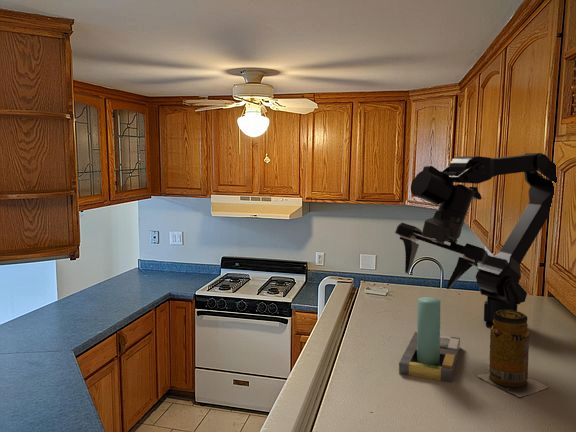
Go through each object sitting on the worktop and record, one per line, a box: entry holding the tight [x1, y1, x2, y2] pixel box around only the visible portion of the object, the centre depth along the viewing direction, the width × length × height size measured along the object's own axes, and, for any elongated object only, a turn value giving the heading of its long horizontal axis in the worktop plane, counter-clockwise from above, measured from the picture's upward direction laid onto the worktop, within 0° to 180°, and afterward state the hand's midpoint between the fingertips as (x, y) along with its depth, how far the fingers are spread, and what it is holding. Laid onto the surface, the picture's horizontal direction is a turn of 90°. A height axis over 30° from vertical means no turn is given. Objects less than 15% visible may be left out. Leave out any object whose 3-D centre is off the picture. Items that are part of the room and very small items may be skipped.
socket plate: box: [398, 331, 461, 383], centre depth 89 cm, size 9×16×2 cm, turn 154°
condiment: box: [477, 310, 549, 398], centre depth 78 cm, size 7×8×12 cm
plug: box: [416, 296, 441, 366], centre depth 84 cm, size 4×4×13 cm
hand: (426, 280), depth 97 cm, fingers open, 9 cm apart
